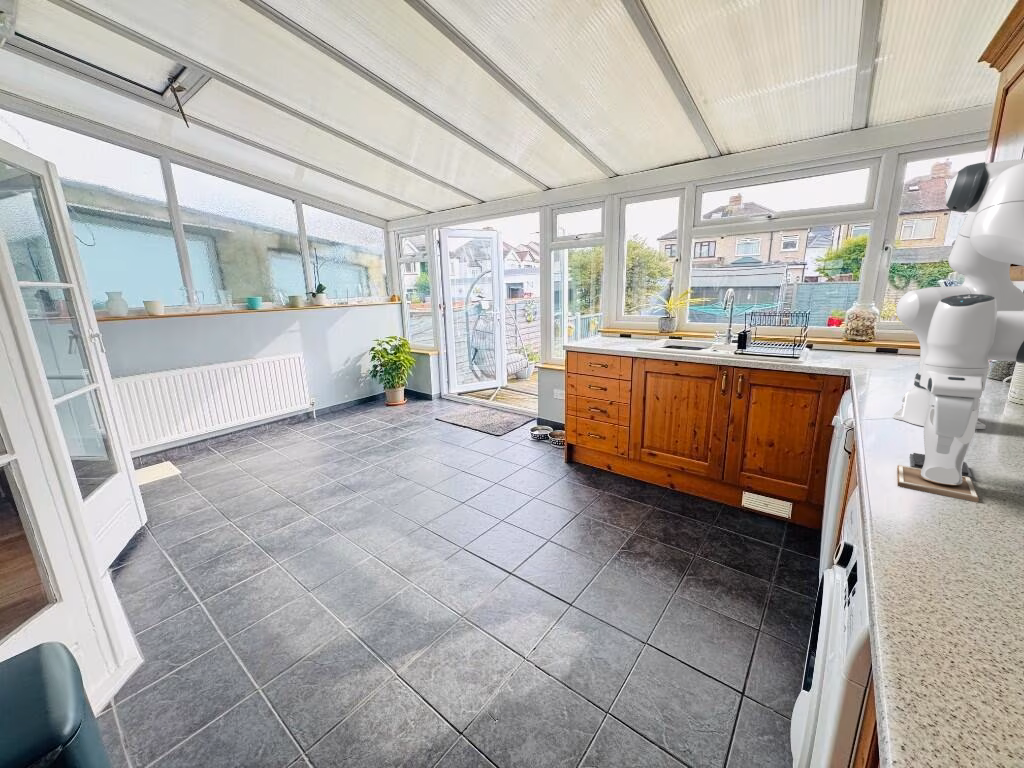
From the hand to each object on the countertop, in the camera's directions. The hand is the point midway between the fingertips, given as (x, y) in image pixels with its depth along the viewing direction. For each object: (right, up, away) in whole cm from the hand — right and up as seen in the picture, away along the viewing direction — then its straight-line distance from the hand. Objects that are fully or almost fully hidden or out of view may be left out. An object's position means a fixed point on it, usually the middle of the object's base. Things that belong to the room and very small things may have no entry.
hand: (939, 445), depth 84 cm
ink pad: (+7, -6, +7) cm, 12 cm away
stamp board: (-1, -8, 0) cm, 8 cm away
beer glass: (0, -7, 0) cm, 7 cm away
